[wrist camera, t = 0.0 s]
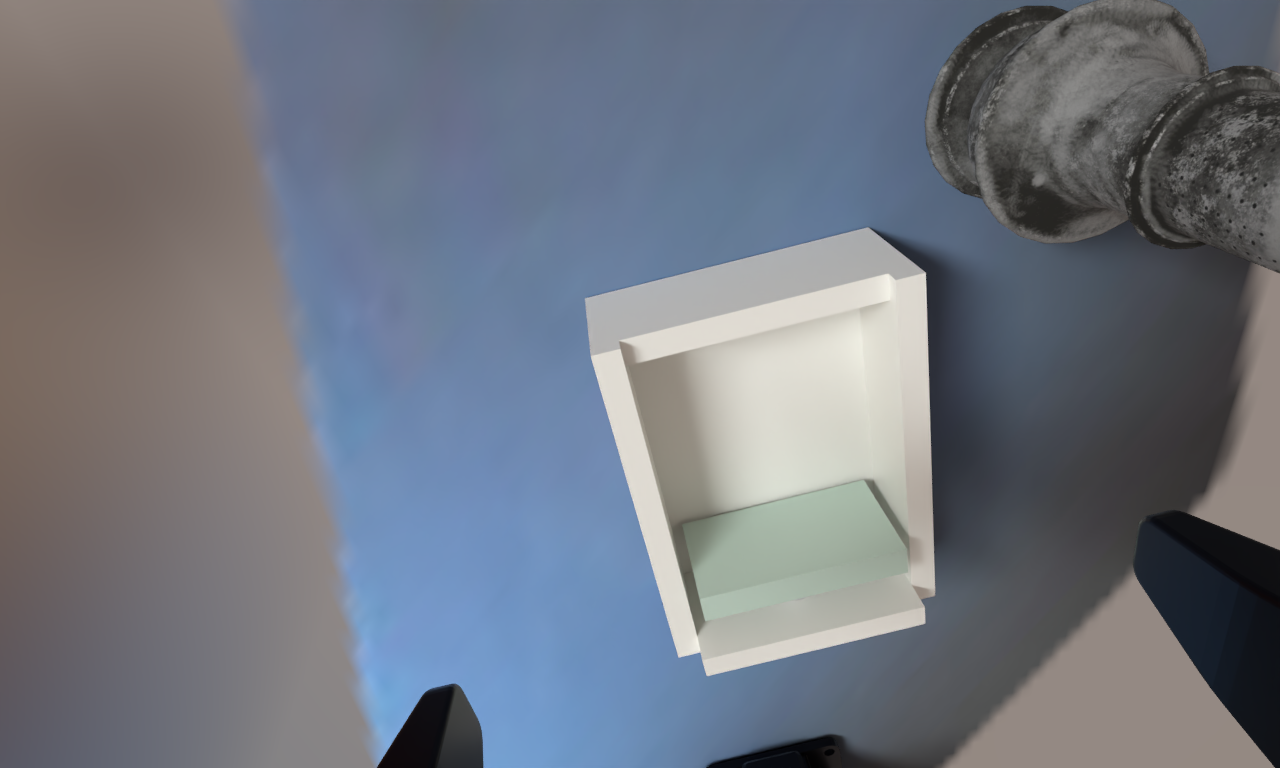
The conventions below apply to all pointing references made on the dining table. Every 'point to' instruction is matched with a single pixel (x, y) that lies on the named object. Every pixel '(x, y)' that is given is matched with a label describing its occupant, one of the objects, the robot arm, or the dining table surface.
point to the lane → (774, 423)
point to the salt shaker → (1110, 129)
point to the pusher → (792, 549)
